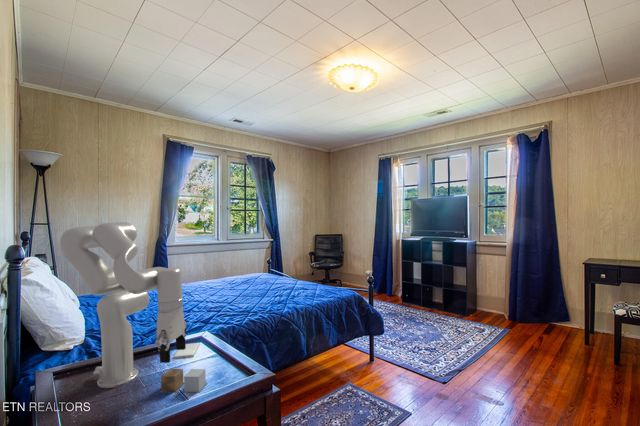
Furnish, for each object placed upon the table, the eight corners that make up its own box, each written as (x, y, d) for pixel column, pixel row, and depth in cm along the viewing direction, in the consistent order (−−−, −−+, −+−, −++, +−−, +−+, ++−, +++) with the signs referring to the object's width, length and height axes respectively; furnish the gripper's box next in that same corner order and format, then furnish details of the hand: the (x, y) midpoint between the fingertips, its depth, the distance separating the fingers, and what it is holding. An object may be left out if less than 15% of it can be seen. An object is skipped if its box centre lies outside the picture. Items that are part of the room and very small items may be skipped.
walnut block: (161, 391, 104) (160, 376, 104) (169, 383, 109) (169, 368, 109) (175, 391, 104) (175, 376, 104) (183, 383, 109) (183, 368, 109)
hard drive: (180, 344, 142) (172, 356, 130) (199, 342, 143) (193, 354, 131) (180, 348, 142) (172, 360, 130) (200, 346, 143) (193, 358, 131)
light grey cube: (184, 391, 104) (184, 376, 104) (191, 383, 109) (191, 369, 109) (199, 391, 103) (198, 376, 103) (205, 383, 108) (205, 369, 108)
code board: (152, 397, 102) (152, 395, 102) (169, 381, 112) (169, 379, 112) (200, 398, 101) (200, 396, 101) (213, 381, 111) (213, 379, 111)
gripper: (173, 298, 116) (176, 345, 115) (144, 313, 98) (147, 368, 98) (193, 297, 115) (196, 344, 115) (166, 312, 98) (170, 367, 98)
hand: (173, 355), depth 107 cm, fingers open, 9 cm apart
